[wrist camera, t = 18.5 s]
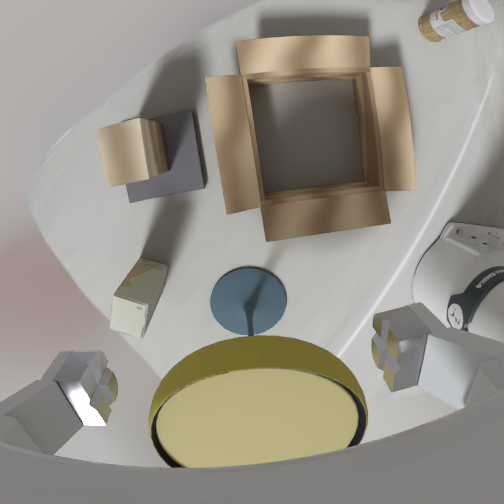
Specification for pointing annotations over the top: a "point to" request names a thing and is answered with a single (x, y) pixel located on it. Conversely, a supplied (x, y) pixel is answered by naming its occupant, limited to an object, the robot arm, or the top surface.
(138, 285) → the box
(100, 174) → the top surface
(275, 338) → the cocktail glass
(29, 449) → the robot arm
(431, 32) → the sprinkles bottle
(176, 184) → the mat
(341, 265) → the top surface
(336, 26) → the top surface
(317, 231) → the carton
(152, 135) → the block
